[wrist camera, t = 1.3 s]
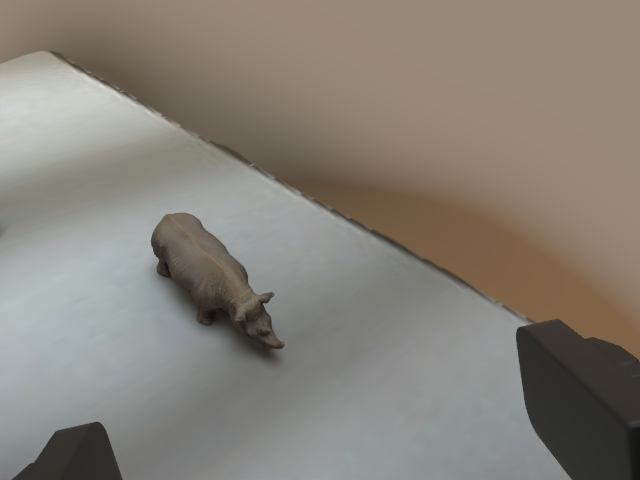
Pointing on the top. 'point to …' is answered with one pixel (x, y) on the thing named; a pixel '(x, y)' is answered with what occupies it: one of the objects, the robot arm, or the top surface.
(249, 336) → the rhino figurine
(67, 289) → the top surface
